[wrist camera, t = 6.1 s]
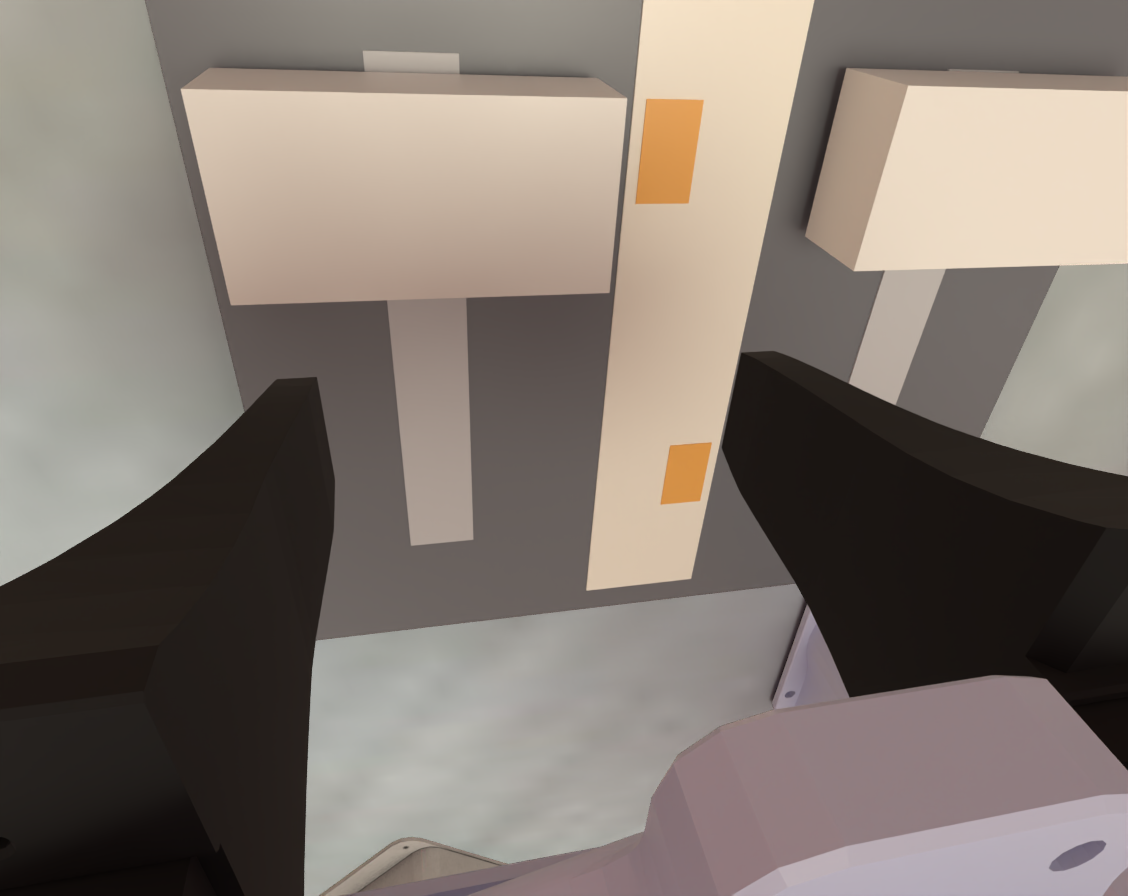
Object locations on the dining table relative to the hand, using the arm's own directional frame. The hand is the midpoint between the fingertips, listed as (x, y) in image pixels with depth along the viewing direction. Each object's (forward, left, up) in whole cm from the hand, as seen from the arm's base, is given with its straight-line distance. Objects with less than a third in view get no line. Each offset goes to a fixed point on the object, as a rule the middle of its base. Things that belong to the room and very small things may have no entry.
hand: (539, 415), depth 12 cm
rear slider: (+3, -12, -7) cm, 14 cm away
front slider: (+2, +2, -7) cm, 8 cm away
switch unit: (-1, -5, -8) cm, 10 cm away
